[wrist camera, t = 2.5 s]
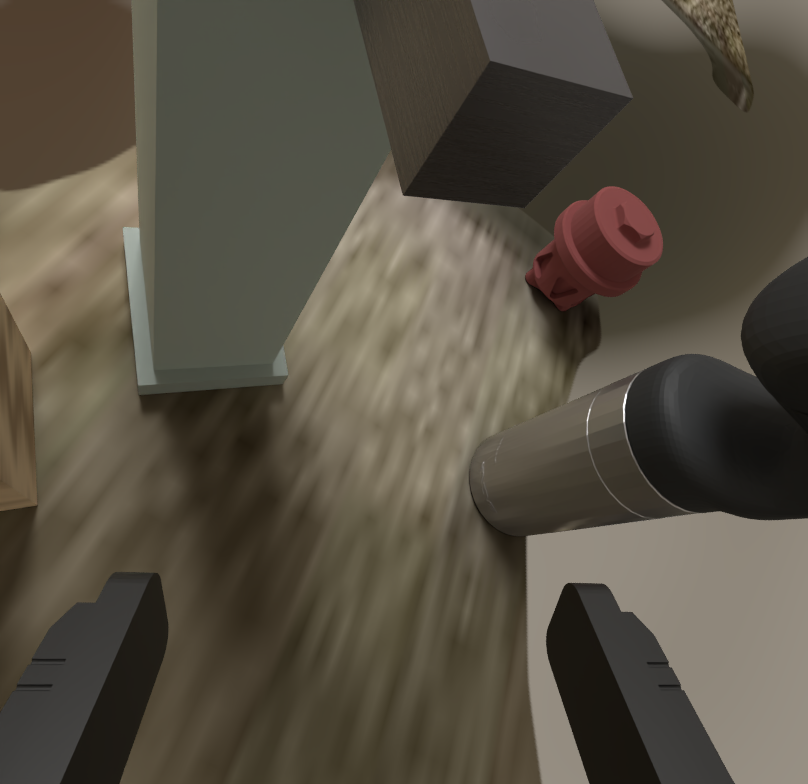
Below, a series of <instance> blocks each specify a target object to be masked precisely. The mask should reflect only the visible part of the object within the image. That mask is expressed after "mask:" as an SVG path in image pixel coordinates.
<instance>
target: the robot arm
mask: <svg viewBox="0 0 808 784" xmlns="http://www.w3.org/2000/svg"><path fill="white" fill-rule="evenodd" d="M741 340H742V347H743V351H744V354H745V356H746V358H747V360H748V362H749V365H750V367H751V368H752V369H753V371H754V373H755V375H756V376H757V377H755V376H753V375H751V374H749V373H746V372H744V371H742V370H740V369H738V368H736V367H734V366H732V365H730V364H728V363H726V362H723V361H721V360H719V359H716V358H713V357H710V356H706V355H700V354H686V355H680V356H676V357H673V358H670V359H667V360H665V361H663V362H660V363H658V364H656V365H654V366H651V367H649V368H647V369H644V370H642V371H640V372H637V373H635V374H633V375H630V376H628V377H626V378H623V379H621V380H619V381H617V382H614V383H612V384H610V385H608V386H606V387H604V388H602V389H599V390H597V391H594V392H592V393H590V394H587V395H585V396H583V397H580V398H578V399H576V400H574V401H571V402H569V403H567V404H564V405H562V406H560V407H557V408H555V409H553V410H551V411H548V412H546V413H544V414H541V415H539V416H537V417H535V418H532V419H530V420H528V421H525V422H523V423H521V424H518V425H516V426H514V427H511V428H509V429H507V430H505V431H502V432H500V433H498V434H496V435H493V436H491V437H489V438H487V439H486V440H485V441H484V442H482V443H481V445H480V446H479V447H478V449H477V450H476V452H475V454H474V456H473V458H472V462H471V467H470V486H471V492H472V495H473V498H474V501H475V503H476V505H477V507H478V509H479V511H480V512H481V514H482V515H483V516H484V518H485V519H486V520H487V521H488V522H489V523H490V524H491V525H492V526H493V527H495V528H496V529H497V530H499V531H501V532H503V533H505V534H508V535H512V536H529V535H537V534H544V533H553V532H561V531H568V530H577V529H584V528H592V527H599V526H606V525H614V524H622V523H629V522H637V521H644V520H651V519H660V518H665V517H673V516H681V515H688V514H696V513H707V512H716V511H722V512H725V513H729V514H733V515H735V516H739V517H744V518H749V519H757V520H785V519H802V518H808V257H807V258H805V259H803V260H801V261H800V262H798V263H797V264H795V265H793V266H792V267H790V268H789V269H787V270H786V271H785V272H783V273H782V274H781V275H779V276H778V277H777V278H775V279H774V280H773V281H772V282H770V283H769V284H768V285H767V286H766V287H765V288H764V289H763V290H762V291H761V292H760V293H759V294H758V296H757V297H756V298H755V300H754V301H753V302H752V304H751V305H750V307H749V309H748V311H747V313H746V315H745V317H744V320H743V324H742V331H741ZM167 639H168V619H167V613H166V607H165V601H164V596H163V590H162V584H161V579H160V576H159V574H158V573H139V572H115V573H113V574H112V575H111V576H110V578H109V579H108V581H107V582H106V584H105V586H104V588H103V590H102V592H101V594H100V596H99V598H98V599H97V601H96V603H76V604H75V605H74V606H73V607H72V608H71V609H70V610H69V611H68V612H67V613H66V614H64V615H63V616H62V617H61V618H60V619H59V620H58V621H57V622H56V623H55V624H54V625H53V626H52V627H51V628H50V629H49V630H48V632H47V634H46V636H45V637H44V639H43V641H42V642H41V644H40V646H39V647H38V649H37V651H36V653H35V654H34V656H33V658H32V663H31V664H30V665H28V666H27V668H26V670H25V671H24V673H23V675H22V677H21V678H20V680H19V682H18V683H17V688H16V690H15V691H13V692H12V694H11V695H10V697H9V699H8V700H7V702H6V704H5V706H4V707H3V709H2V711H1V712H0V784H119V783H120V780H121V777H122V774H123V771H124V768H125V766H126V763H127V760H128V757H129V754H130V751H131V749H132V746H133V743H134V740H135V737H136V734H137V732H138V729H139V726H140V723H141V720H142V717H143V715H144V712H145V709H146V706H147V703H148V700H149V697H150V695H151V692H152V689H153V686H154V683H155V680H156V678H157V675H158V672H159V669H160V666H161V663H162V661H163V658H164V654H165V650H166V645H167ZM546 646H547V654H548V659H549V662H550V665H551V669H552V671H553V674H554V677H555V681H556V684H557V687H558V690H559V693H560V696H561V699H562V702H563V705H564V708H565V711H566V714H567V717H568V720H569V723H570V726H571V729H572V732H573V735H574V738H575V741H576V744H577V747H578V750H579V753H580V756H581V759H582V762H583V766H584V769H585V771H586V775H587V778H588V781H589V783H590V784H735V783H734V781H733V780H732V778H731V777H730V775H729V773H728V771H727V769H726V767H725V765H724V764H723V762H722V760H721V758H720V756H719V754H718V752H717V751H716V749H715V747H714V745H713V743H712V742H711V740H710V738H709V736H708V734H707V732H706V730H705V728H704V727H703V725H702V723H701V721H700V719H699V717H698V715H697V714H696V712H695V710H694V708H693V706H692V704H691V703H690V701H689V699H688V697H687V695H686V693H685V691H684V690H681V686H680V685H681V684H680V682H679V680H678V678H677V677H676V675H675V673H674V671H673V669H672V668H670V667H669V665H668V663H669V662H668V660H667V658H666V656H665V654H664V653H663V651H662V649H661V647H660V645H659V643H658V641H657V640H656V638H655V636H654V635H653V633H652V632H651V631H650V630H649V629H648V628H647V627H646V626H645V625H644V624H643V623H642V622H641V621H640V620H639V619H638V618H637V617H636V616H635V615H634V614H633V612H621V611H620V608H619V606H618V604H617V602H616V600H615V599H614V596H613V594H612V593H611V591H610V589H609V588H608V587H607V586H606V585H604V584H592V583H568V584H566V585H565V586H564V588H563V590H562V593H561V595H560V598H559V601H558V603H557V606H556V608H555V611H554V614H553V616H552V619H551V621H550V624H549V626H548V629H547V636H546Z"/></svg>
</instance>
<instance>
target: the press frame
mask: <svg viewBox="0 0 808 784" xmlns="http://www.w3.org/2000/svg"><path fill="white" fill-rule="evenodd" d="M132 24H133V55H134V83H135V113H136V114H135V115H136V145H137V174H138V204H139V228H130V227H123V237H124V248H125V259H126V269H127V279H128V289H129V300H130V310H131V320H132V331H133V341H134V351H135V362H136V372H137V382H138V393H139V395H147V394H160V393H173V392H186V391H199V390H212V389H225V388H238V387H251V386H264V385H277V384H283V383H284V381H285V380H286V378H287V377H288V370H287V364H286V358H285V352H284V347H283V344H284V343H285V341H286V339H287V337H288V335H289V333H290V332H291V330H292V328H293V326H294V324H295V323H296V321H297V319H298V317H299V315H300V313H301V312H302V310H303V308H304V306H305V304H306V303H307V301H308V299H309V297H310V295H311V294H312V292H313V290H314V288H315V286H316V284H317V283H318V281H319V279H320V277H321V275H322V274H323V272H324V270H325V268H326V266H327V264H328V263H329V261H330V259H331V257H332V255H333V254H334V252H335V250H336V248H337V246H338V245H339V243H340V241H341V239H342V237H343V235H344V234H345V232H346V230H347V228H348V226H349V225H350V223H351V221H352V219H353V217H354V215H355V214H356V212H357V210H358V208H359V206H360V205H361V203H362V201H363V199H364V197H365V196H366V194H367V192H368V190H369V188H370V186H371V185H372V183H373V181H374V179H375V177H376V176H377V174H378V172H379V170H380V168H381V166H382V165H383V163H384V161H385V159H386V157H387V156H388V154H389V152H390V150H391V146H390V142H389V138H388V134H387V131H386V127H385V123H384V119H383V115H382V111H381V107H380V103H379V99H378V95H377V91H376V87H375V83H374V79H373V76H372V72H371V68H370V64H369V60H368V56H367V52H366V48H365V44H364V40H363V36H362V32H361V28H360V24H359V21H358V17H357V13H356V9H355V5H354V1H353V0H132Z"/></svg>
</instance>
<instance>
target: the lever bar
mask: <svg viewBox="0 0 808 784" xmlns="http://www.w3.org/2000/svg"><path fill="white" fill-rule="evenodd" d="M353 1H354V5H355V9H356V13H357V17H358V21H359V24H360V28H361V32H362V36H363V40H364V44H365V48H366V52H367V56H368V60H369V64H370V68H371V72H372V76H373V79H374V83H375V87H376V91H377V95H378V99H379V103H380V107H381V111H382V115H383V119H384V123H385V127H386V131H387V134H388V138H389V142H390V146H391V150H392V154H393V158H394V162H395V166H396V170H397V174H398V178H399V182H400V186H401V189H402V193H403V195H404V196H413V197H423V198H433V199H442V200H452V201H461V202H471V203H481V204H490V205H500V206H509V207H520V208H525V207H526V206H527V205H528V204H529V202H531V201H532V200H533V199H534V198H535V197H536V196H537V195H538V194H539V192H541V191H542V190H543V189H544V188H545V187H546V186H547V184H548V183H550V182H551V180H553V178H555V176H556V175H557V174H558V173H559V172H560V171H561V170H562V169H563V168H564V167H565V166H566V165H567V164H568V163H569V162H570V161H571V160H572V159H573V158H574V157H575V156H576V155H577V154H578V153H579V152H580V151H581V150H582V149H583V148H584V147H585V146H586V145H587V144H588V143H589V142H590V141H591V140H592V139H593V138H594V137H595V136H596V135H597V134H598V133H599V132H600V131H601V130H602V129H603V128H604V127H605V126H606V125H607V124H608V123H609V122H610V121H611V120H612V119H613V118H614V117H615V116H616V115H617V114H618V113H619V112H620V111H621V110H622V109H623V108H624V107H625V106H626V105H627V104H628V103H629V102H630V101H631V100H632V99H633V97H632V94H631V92H630V90H629V87H628V85H627V82H626V80H625V77H624V75H623V72H622V70H621V67H620V65H619V62H618V60H617V58H616V55H615V52H614V50H613V48H612V45H611V43H610V40H609V38H608V35H607V33H606V30H605V28H604V25H603V23H602V20H601V18H600V15H599V13H598V11H597V8H596V6H595V3H594V0H353Z"/></svg>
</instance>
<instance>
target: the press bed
mask: <svg viewBox="0 0 808 784" xmlns="http://www.w3.org/2000/svg"><path fill="white" fill-rule="evenodd" d="M30 506H37V483H36V460H35V437H34V414H33V392H32V369H31V352H30V350H29V348H28V346H27V344H26V342H25V340H24V338H23V336H22V334H21V332H20V331H19V329H18V327H17V325H16V323H15V321H14V319H13V317H12V315H11V313H10V311H9V309H8V307H7V306H6V304H5V302H4V300H3V298H2V296H1V294H0V511H4V510H11V509H17V508H24V507H30Z"/></svg>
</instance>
